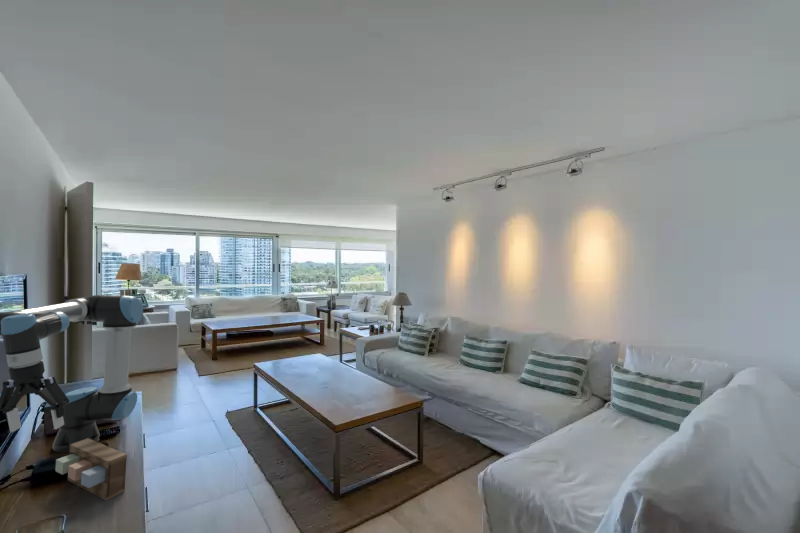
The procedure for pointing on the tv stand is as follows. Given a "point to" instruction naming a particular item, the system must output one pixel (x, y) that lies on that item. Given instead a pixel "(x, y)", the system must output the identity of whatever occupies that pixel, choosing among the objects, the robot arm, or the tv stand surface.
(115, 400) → the robot arm
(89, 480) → the slate key
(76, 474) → the terracotta key
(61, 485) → the tv stand surface
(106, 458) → the wooden block
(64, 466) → the sage key
